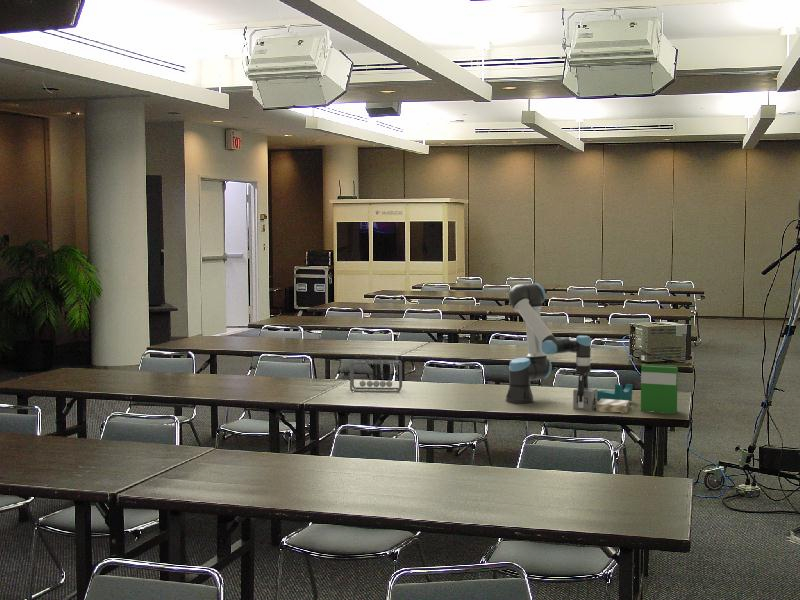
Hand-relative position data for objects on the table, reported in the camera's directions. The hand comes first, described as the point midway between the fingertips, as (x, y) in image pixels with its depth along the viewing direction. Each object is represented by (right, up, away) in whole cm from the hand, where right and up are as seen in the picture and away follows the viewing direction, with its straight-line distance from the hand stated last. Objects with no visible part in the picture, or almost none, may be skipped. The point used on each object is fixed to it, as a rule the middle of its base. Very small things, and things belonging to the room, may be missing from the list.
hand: (582, 405), depth 499 cm
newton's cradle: (-112, +3, +52) cm, 123 cm away
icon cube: (+1, -1, 0) cm, 2 cm away
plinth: (+15, -1, -6) cm, 16 cm away
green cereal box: (+38, -2, -10) cm, 39 cm away
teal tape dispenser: (+19, 0, +17) cm, 26 cm away
